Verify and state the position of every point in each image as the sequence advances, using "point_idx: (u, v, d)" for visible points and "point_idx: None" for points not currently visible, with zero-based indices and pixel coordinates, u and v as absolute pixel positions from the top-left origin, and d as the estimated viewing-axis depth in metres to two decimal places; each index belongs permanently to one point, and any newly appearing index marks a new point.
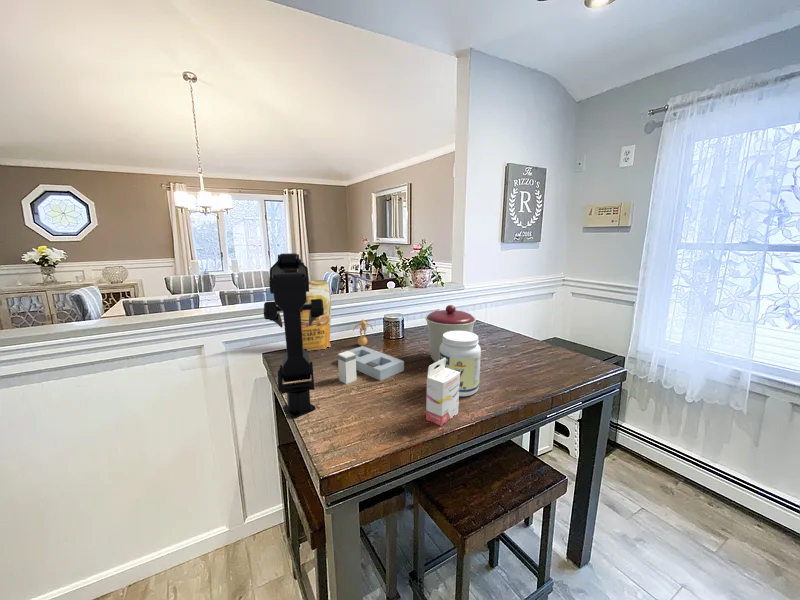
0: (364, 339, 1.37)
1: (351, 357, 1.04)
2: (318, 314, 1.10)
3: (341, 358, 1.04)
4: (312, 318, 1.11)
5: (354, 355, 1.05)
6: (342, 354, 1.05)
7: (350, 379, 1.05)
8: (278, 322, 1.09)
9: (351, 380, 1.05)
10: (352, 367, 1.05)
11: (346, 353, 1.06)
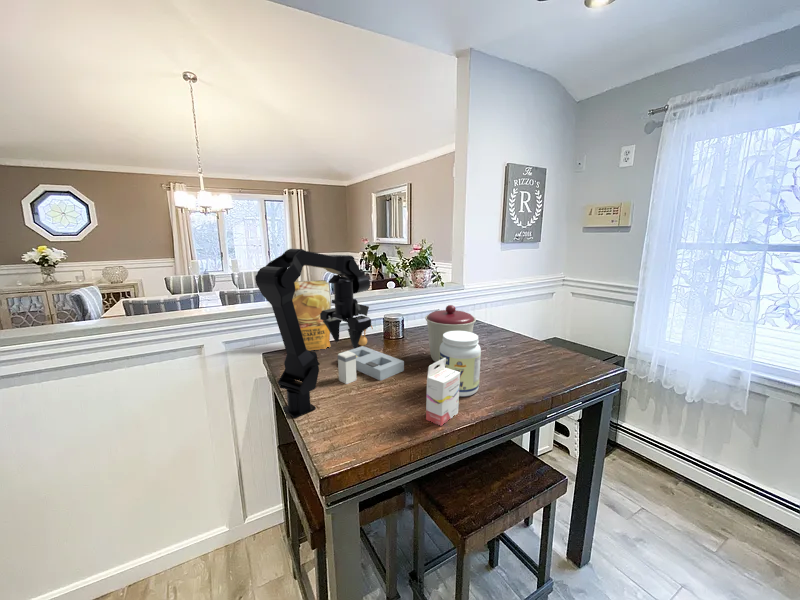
0: (364, 339, 1.37)
1: (351, 357, 1.04)
2: (352, 327, 0.96)
3: (341, 358, 1.04)
4: (349, 332, 0.98)
5: (354, 355, 1.05)
6: (342, 354, 1.05)
7: (350, 379, 1.05)
8: (329, 329, 1.06)
9: (351, 380, 1.05)
10: (352, 367, 1.05)
11: (346, 353, 1.06)
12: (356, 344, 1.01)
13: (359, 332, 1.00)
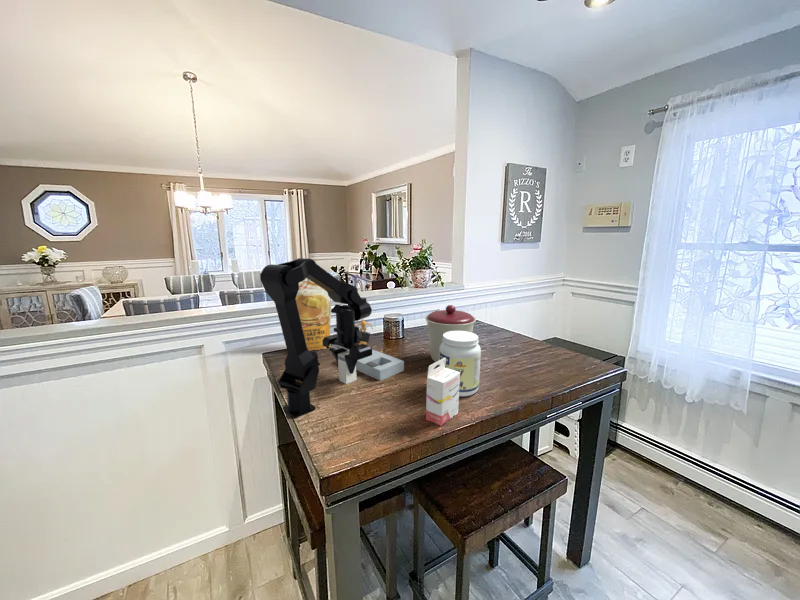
0: None
1: None
2: (353, 356, 0.97)
3: (341, 358, 1.04)
4: (346, 359, 1.01)
5: None
6: (342, 354, 1.05)
7: (350, 379, 1.05)
8: (335, 357, 1.06)
9: (351, 380, 1.05)
10: None
11: (346, 353, 1.06)
12: (352, 369, 1.04)
13: (355, 358, 1.03)
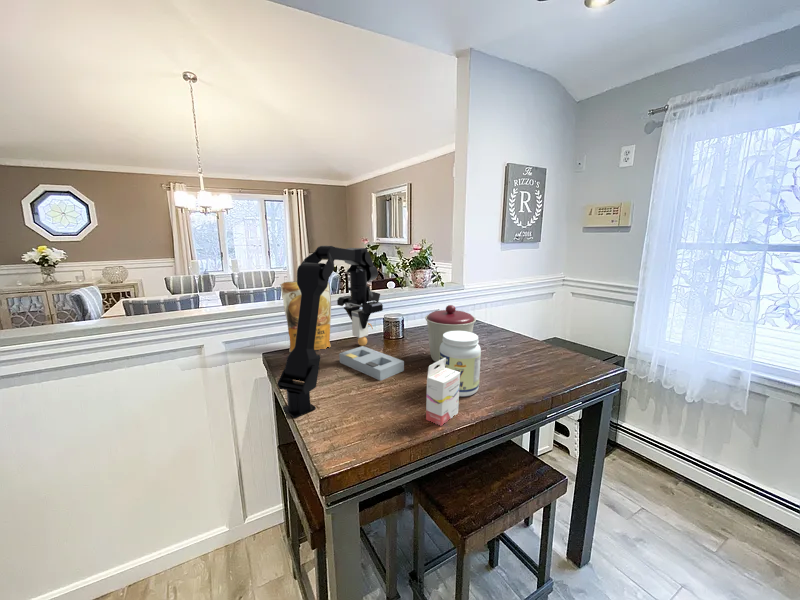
0: (364, 339, 1.37)
1: None
2: (366, 310, 1.09)
3: (355, 314, 1.16)
4: (359, 314, 1.13)
5: None
6: (355, 311, 1.17)
7: (362, 334, 1.17)
8: (349, 314, 1.18)
9: (363, 334, 1.18)
10: None
11: (358, 310, 1.18)
12: (365, 325, 1.16)
13: (367, 314, 1.15)
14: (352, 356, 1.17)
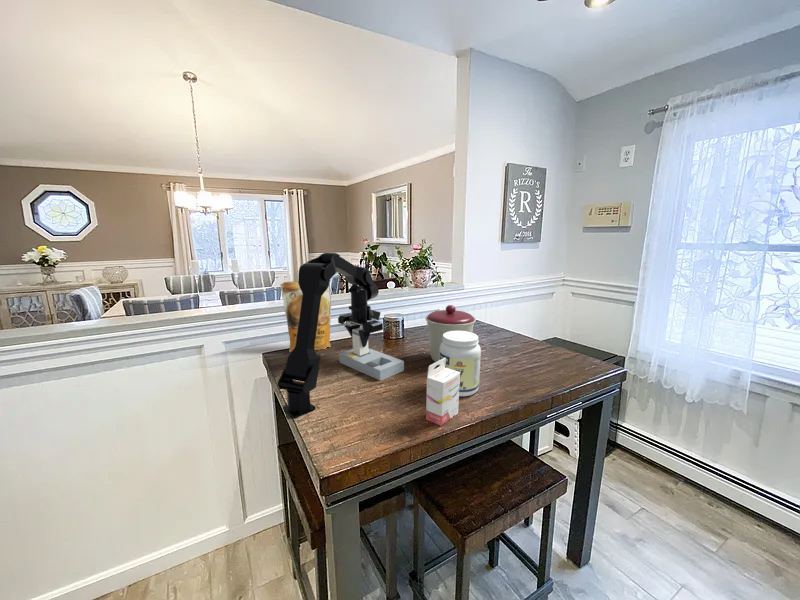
0: None
1: None
2: (366, 330, 1.11)
3: (355, 333, 1.18)
4: (359, 333, 1.15)
5: None
6: (356, 329, 1.18)
7: (363, 352, 1.19)
8: (350, 332, 1.20)
9: (364, 353, 1.19)
10: None
11: (359, 328, 1.19)
12: (365, 343, 1.18)
13: (368, 333, 1.17)
14: (352, 356, 1.17)
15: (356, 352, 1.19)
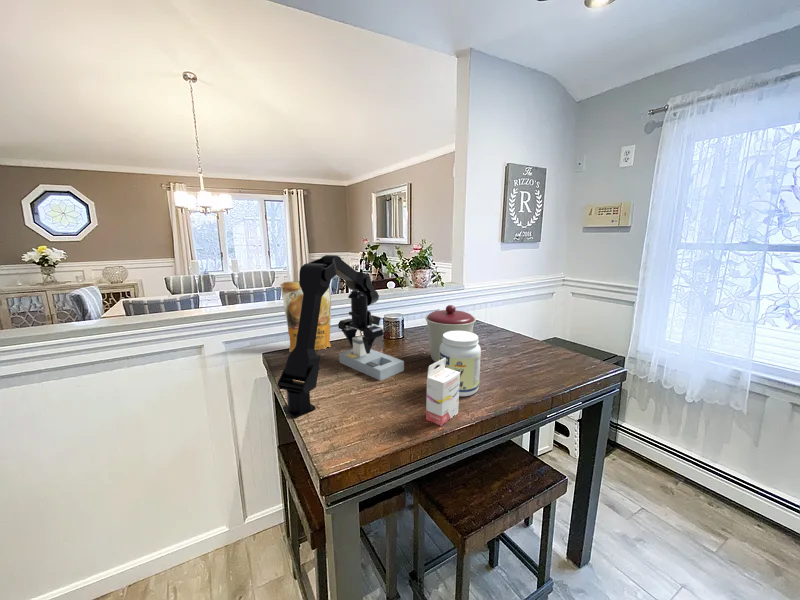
0: None
1: None
2: (367, 335, 1.12)
3: (355, 341, 1.18)
4: (363, 340, 1.14)
5: None
6: (356, 337, 1.19)
7: None
8: (347, 337, 1.21)
9: None
10: None
11: (359, 336, 1.20)
12: (369, 350, 1.17)
13: (371, 340, 1.16)
14: (352, 356, 1.17)
15: None
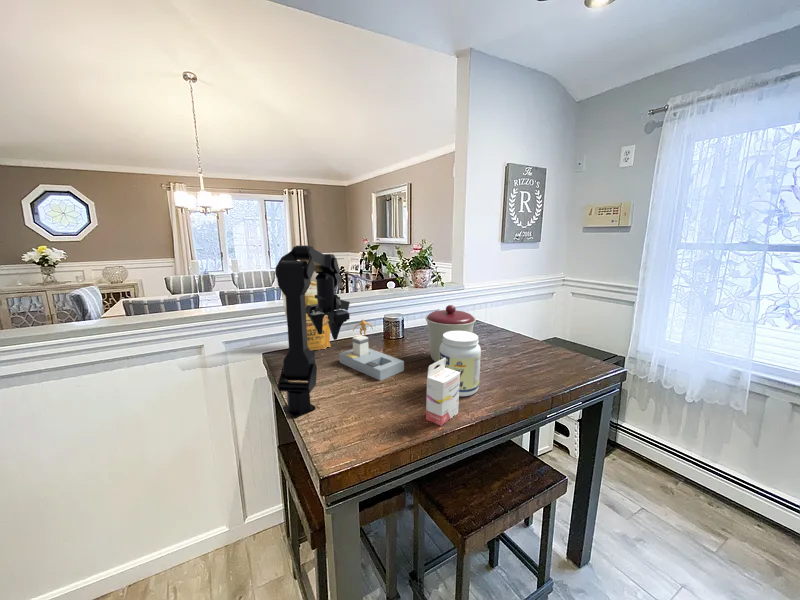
0: None
1: (364, 340, 1.19)
2: (331, 319, 1.05)
3: (355, 341, 1.18)
4: (329, 324, 1.07)
5: (367, 338, 1.19)
6: (356, 337, 1.19)
7: None
8: (313, 322, 1.15)
9: None
10: (365, 349, 1.19)
11: (359, 336, 1.20)
12: (336, 336, 1.10)
13: (338, 325, 1.09)
14: (352, 356, 1.17)
15: None
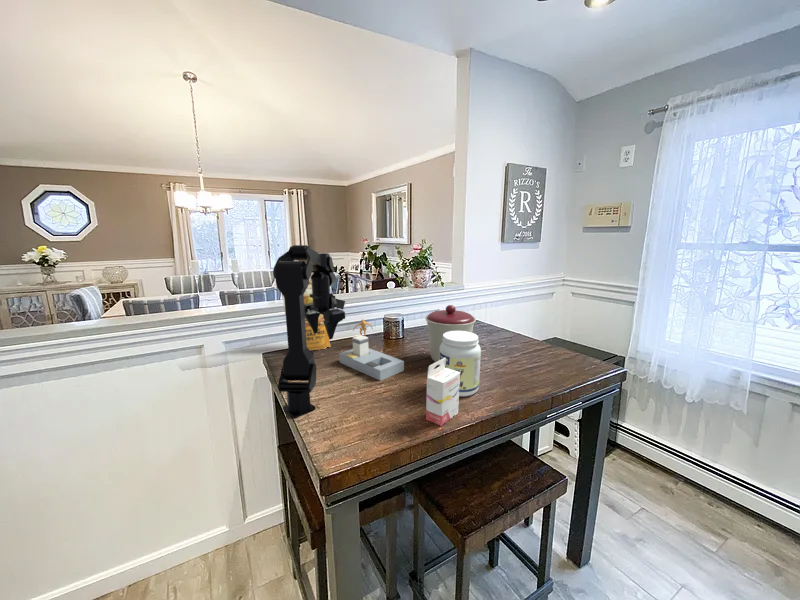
0: None
1: (364, 340, 1.19)
2: (327, 319, 1.04)
3: (355, 341, 1.18)
4: (325, 324, 1.06)
5: (367, 338, 1.19)
6: (356, 337, 1.19)
7: None
8: (308, 321, 1.14)
9: None
10: (365, 349, 1.19)
11: (359, 336, 1.20)
12: (332, 335, 1.10)
13: (334, 324, 1.09)
14: (352, 356, 1.17)
15: None
